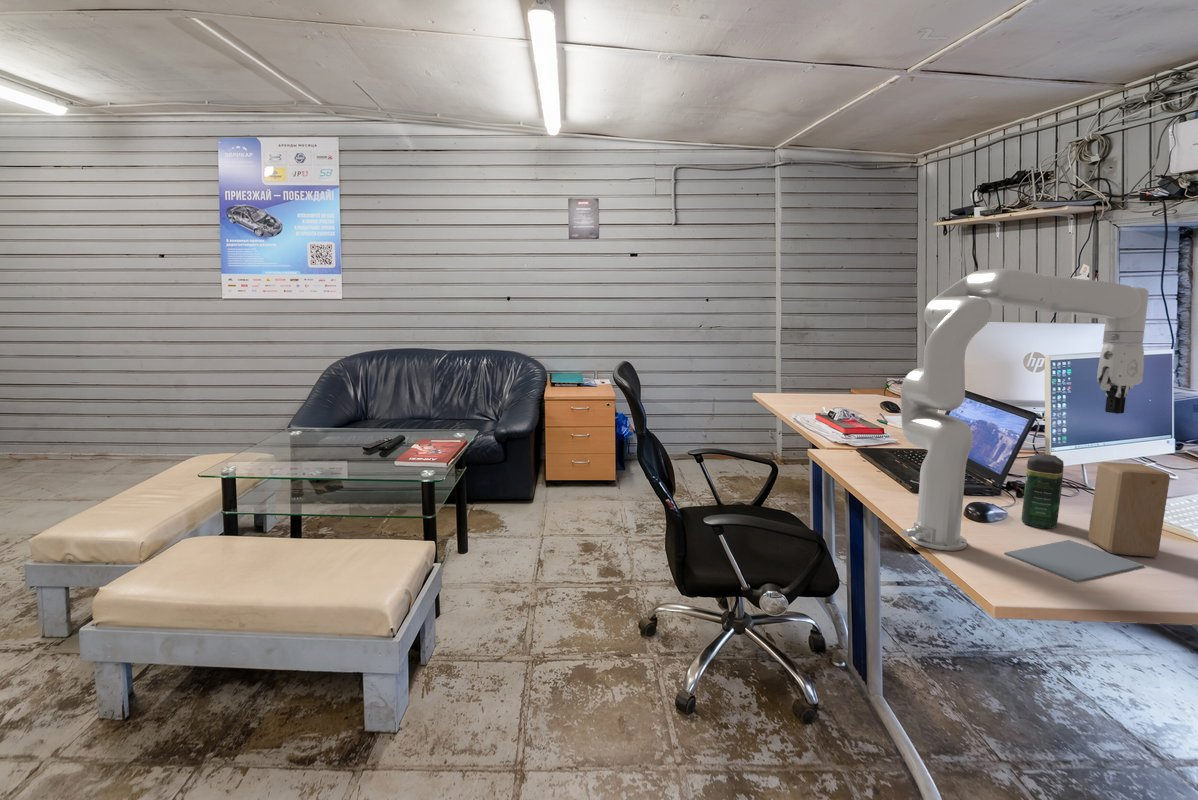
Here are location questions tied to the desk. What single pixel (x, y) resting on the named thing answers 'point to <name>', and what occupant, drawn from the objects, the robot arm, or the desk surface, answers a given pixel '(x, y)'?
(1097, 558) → the mat
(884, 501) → the desk surface
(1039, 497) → the coffee jar
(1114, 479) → the wooden block
